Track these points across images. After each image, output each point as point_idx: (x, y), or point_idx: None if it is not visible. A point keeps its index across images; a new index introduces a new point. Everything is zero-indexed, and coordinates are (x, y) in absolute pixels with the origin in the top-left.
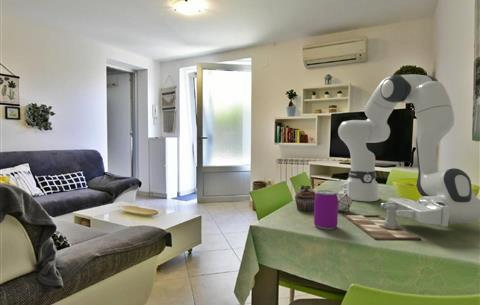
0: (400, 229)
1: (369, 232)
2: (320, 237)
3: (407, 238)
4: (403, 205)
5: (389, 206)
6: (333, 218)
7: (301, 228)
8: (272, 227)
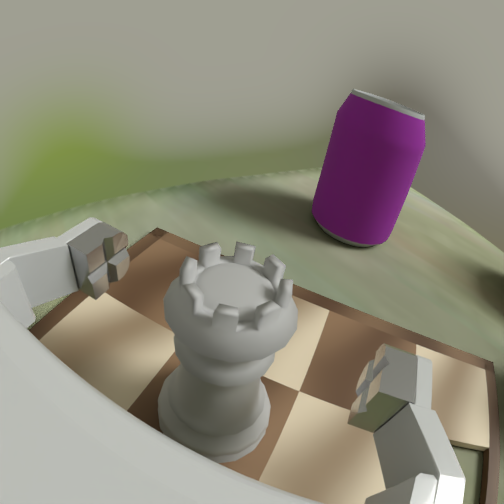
0: None
1: None
2: (261, 174)
3: (53, 309)
4: (106, 397)
5: (224, 258)
6: (320, 180)
7: None
8: None
